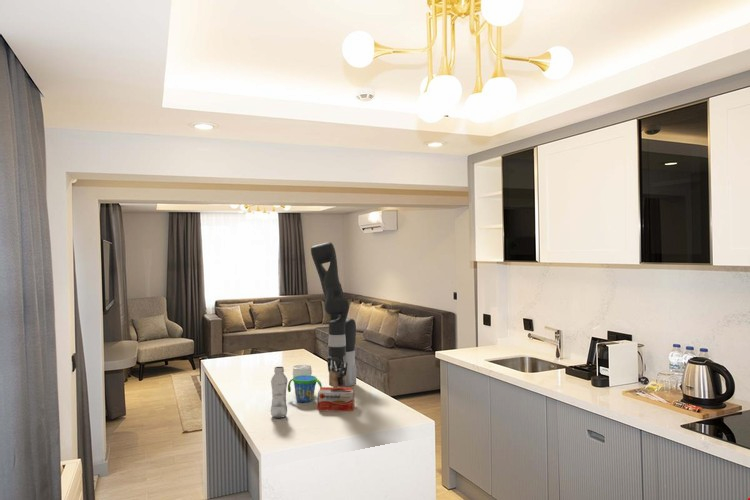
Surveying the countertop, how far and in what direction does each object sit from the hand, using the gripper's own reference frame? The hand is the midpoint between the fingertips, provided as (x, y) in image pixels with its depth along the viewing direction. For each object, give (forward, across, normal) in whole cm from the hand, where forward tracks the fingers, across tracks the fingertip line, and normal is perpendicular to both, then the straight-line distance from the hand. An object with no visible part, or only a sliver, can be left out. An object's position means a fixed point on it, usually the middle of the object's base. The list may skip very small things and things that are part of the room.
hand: (337, 383), depth 220 cm
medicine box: (+10, -1, +1) cm, 10 cm away
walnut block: (+1, 0, 0) cm, 1 cm away
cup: (+10, +30, +2) cm, 32 cm away
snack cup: (+10, +17, +7) cm, 21 cm away
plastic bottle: (+10, +2, +26) cm, 28 cm away
